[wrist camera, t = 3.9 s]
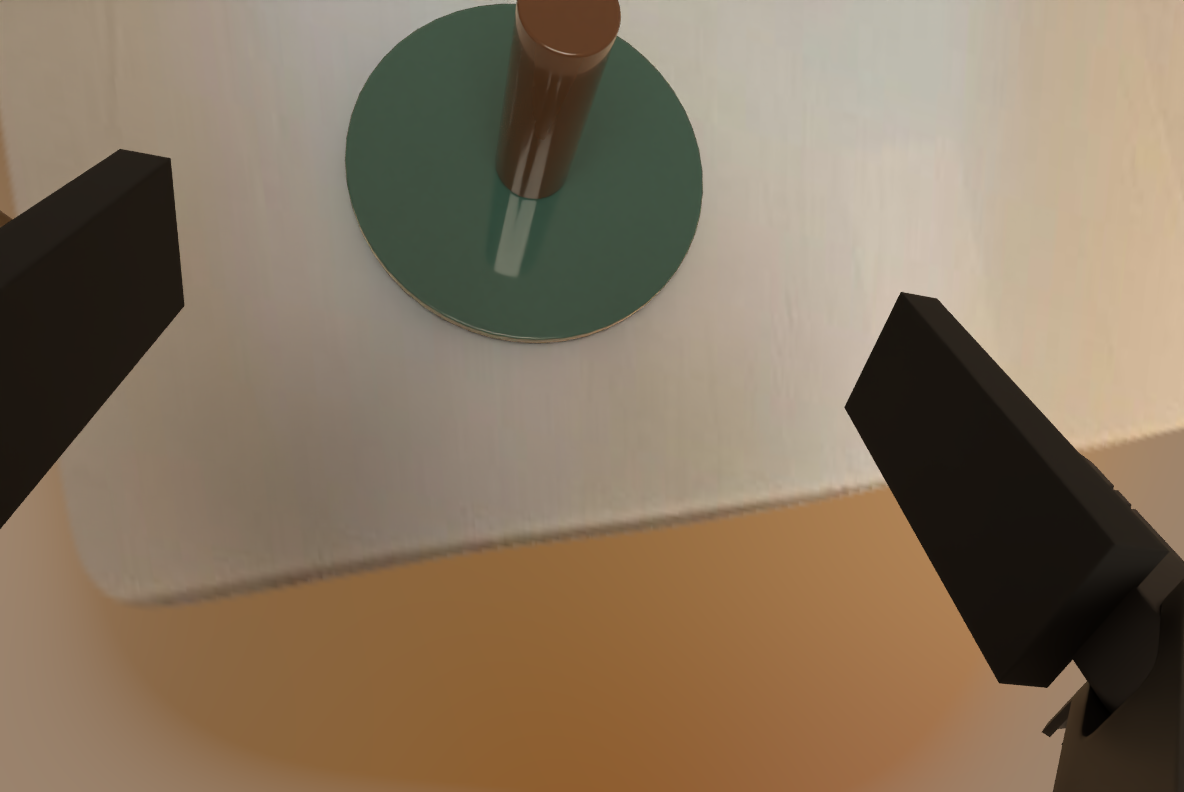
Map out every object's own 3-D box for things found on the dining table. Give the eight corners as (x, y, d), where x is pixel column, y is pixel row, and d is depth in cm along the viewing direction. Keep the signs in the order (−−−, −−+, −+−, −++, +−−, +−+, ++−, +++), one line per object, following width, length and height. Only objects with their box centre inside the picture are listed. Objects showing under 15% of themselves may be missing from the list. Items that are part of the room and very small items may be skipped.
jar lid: (306, 297, 28) (228, 168, 18) (398, -20, 30) (376, -285, 20) (662, 383, 30) (771, 311, 20) (718, 78, 32) (838, -120, 22)
